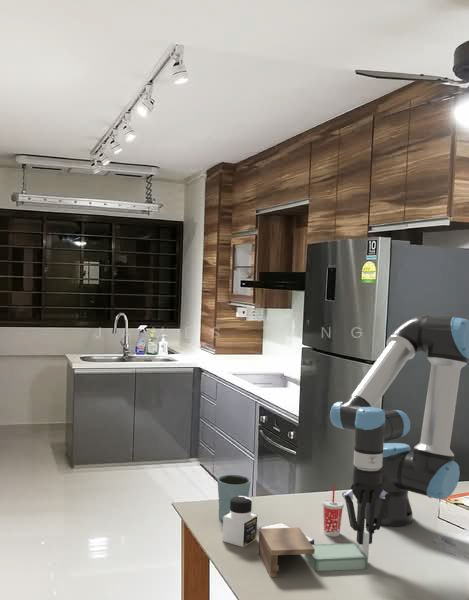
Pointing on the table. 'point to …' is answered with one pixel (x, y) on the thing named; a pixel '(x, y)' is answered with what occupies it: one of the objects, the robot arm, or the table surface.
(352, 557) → the bevelled sage-green slab
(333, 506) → the beverage cup
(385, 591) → the table surface
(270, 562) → the walnut shelf
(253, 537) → the medicine bottle
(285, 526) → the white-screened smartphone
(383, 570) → the table surface
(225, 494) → the teal tapered cup
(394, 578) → the table surface
